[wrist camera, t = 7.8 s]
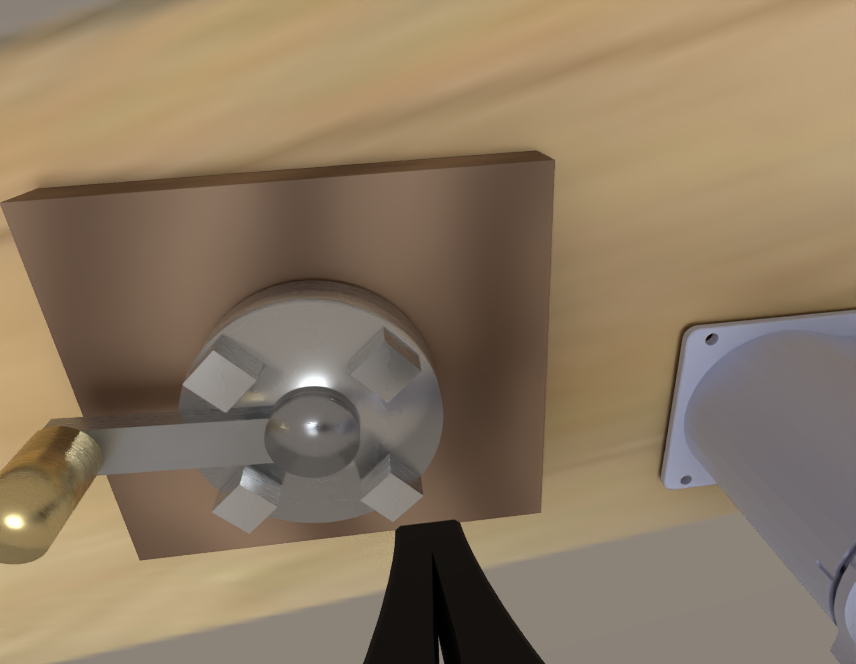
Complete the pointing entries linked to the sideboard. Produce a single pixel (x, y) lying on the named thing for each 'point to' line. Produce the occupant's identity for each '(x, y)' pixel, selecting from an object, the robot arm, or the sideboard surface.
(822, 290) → the sideboard surface
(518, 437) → the base plate
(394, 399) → the grey crank wheel
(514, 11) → the sideboard surface
